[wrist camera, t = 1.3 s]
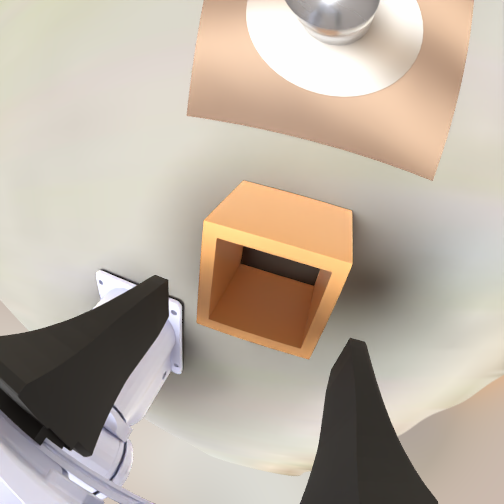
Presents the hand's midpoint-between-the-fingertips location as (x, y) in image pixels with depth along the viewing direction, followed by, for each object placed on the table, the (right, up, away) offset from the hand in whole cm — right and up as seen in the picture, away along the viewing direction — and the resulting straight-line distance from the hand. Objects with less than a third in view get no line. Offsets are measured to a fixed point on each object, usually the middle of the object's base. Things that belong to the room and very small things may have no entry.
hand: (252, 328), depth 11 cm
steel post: (+4, +13, -1) cm, 14 cm away
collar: (+2, +3, +6) cm, 7 cm away
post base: (+4, +13, -1) cm, 14 cm away
